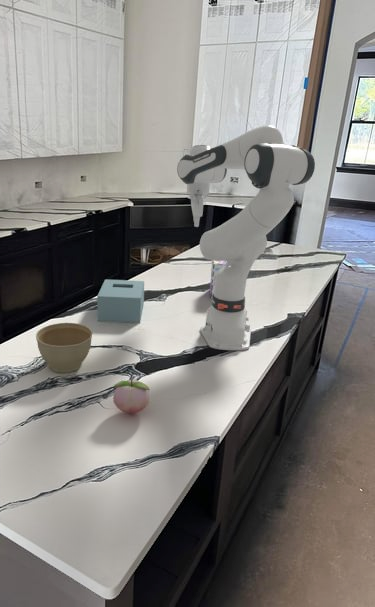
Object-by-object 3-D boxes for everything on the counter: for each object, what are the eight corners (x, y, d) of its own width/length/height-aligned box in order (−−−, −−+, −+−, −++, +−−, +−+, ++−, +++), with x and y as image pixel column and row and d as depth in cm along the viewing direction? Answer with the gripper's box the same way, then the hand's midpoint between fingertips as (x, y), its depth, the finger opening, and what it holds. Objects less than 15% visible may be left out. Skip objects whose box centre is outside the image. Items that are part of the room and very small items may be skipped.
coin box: (140, 322, 172) (140, 298, 168) (97, 321, 171) (97, 296, 168) (143, 303, 190) (144, 281, 187) (105, 302, 190) (105, 279, 186)
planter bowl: (37, 381, 129) (34, 347, 125) (39, 355, 143) (36, 324, 139) (94, 376, 133) (94, 343, 129) (90, 351, 148) (90, 321, 144)
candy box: (223, 300, 200) (226, 264, 194) (210, 299, 200) (213, 263, 194) (222, 289, 213) (225, 255, 207) (209, 289, 213) (212, 255, 207)
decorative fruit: (150, 403, 122) (151, 371, 118) (148, 422, 114) (149, 387, 111) (114, 402, 121) (114, 369, 118) (111, 421, 114) (110, 386, 110)
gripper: (207, 192, 167) (205, 229, 172) (204, 186, 186) (202, 219, 191) (190, 191, 167) (188, 229, 172) (189, 185, 186) (187, 219, 191)
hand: (195, 224), depth 182 cm, fingers open, 8 cm apart
